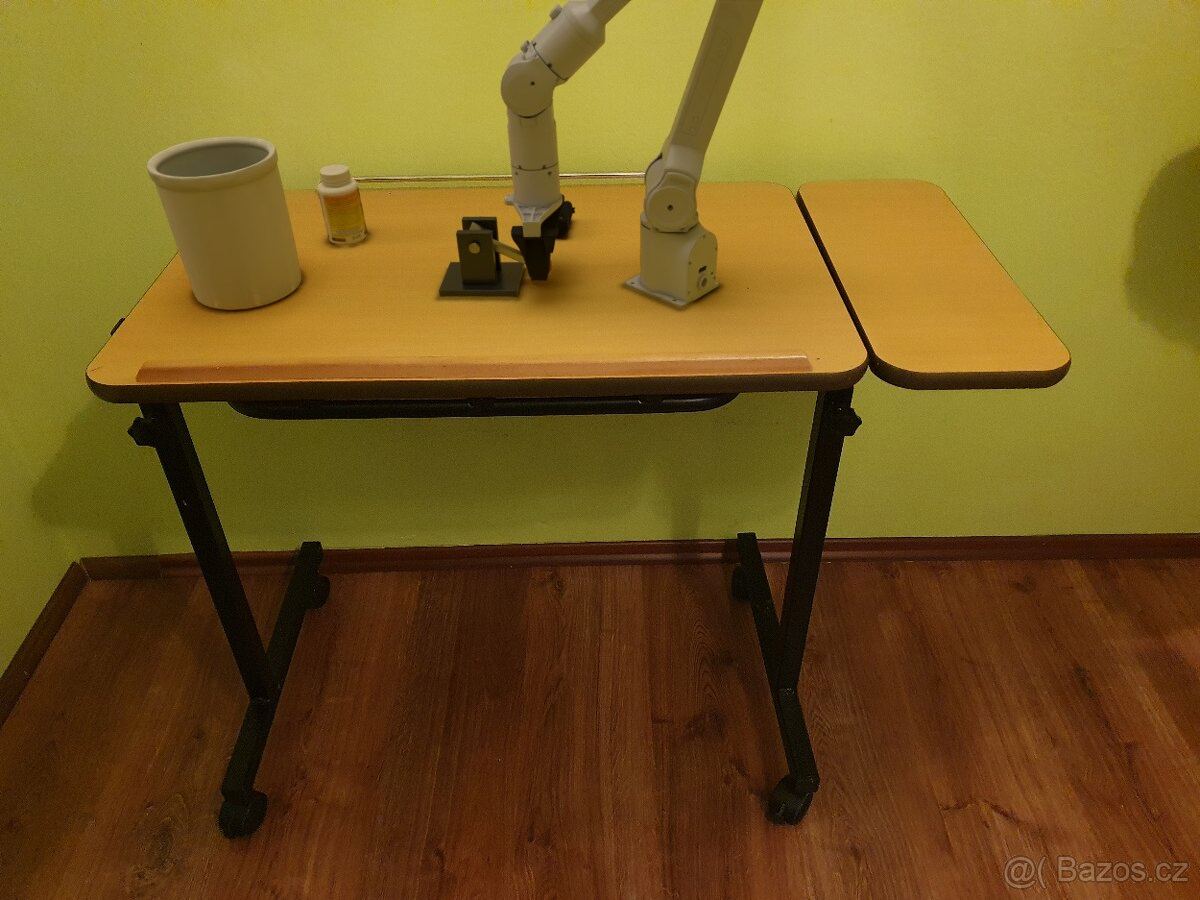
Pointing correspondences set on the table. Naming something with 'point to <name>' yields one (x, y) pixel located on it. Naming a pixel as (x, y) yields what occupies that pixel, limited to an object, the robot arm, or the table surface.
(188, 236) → the utensil holder
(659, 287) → the robot arm
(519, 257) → the lever
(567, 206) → the tape measure
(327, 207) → the supplement bottle
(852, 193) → the table surface
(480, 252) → the switch bracket
